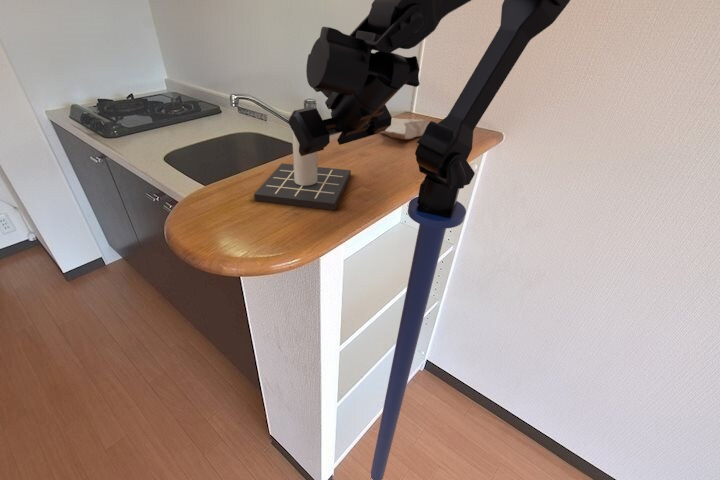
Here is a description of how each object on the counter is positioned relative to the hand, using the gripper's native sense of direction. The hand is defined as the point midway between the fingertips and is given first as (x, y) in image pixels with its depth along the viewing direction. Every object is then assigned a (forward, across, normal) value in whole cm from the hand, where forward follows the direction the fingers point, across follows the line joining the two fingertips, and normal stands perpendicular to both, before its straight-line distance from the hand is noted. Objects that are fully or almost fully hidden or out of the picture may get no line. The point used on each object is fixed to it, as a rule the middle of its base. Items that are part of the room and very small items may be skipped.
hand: (320, 147), depth 65 cm
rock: (+18, -41, -4) cm, 45 cm away
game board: (+10, 0, +4) cm, 11 cm away
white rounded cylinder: (+9, 0, +2) cm, 9 cm away
